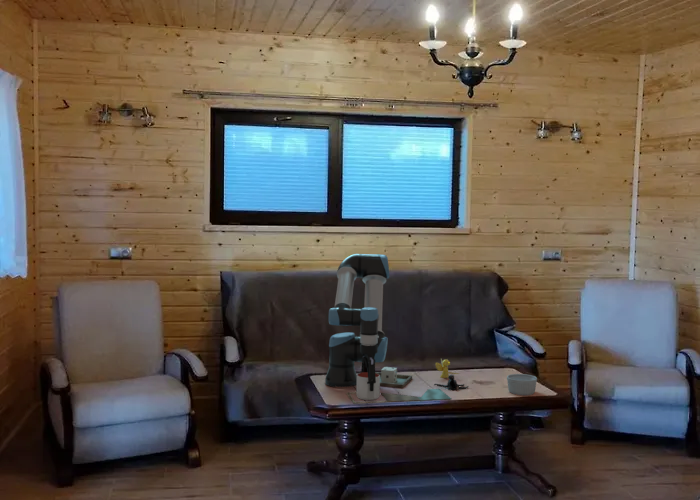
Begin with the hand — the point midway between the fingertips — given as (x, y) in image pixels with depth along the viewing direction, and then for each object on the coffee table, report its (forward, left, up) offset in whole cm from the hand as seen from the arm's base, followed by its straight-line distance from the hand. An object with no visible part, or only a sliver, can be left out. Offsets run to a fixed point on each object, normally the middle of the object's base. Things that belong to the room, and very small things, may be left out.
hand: (368, 394), depth 308 cm
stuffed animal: (+30, +31, -2) cm, 43 cm away
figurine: (+27, +48, -2) cm, 55 cm away
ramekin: (+62, +34, -2) cm, 70 cm away
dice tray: (+2, +28, -1) cm, 28 cm away
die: (+2, +28, -1) cm, 28 cm away
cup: (0, 0, -2) cm, 2 cm away
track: (+12, +7, -1) cm, 14 cm away
